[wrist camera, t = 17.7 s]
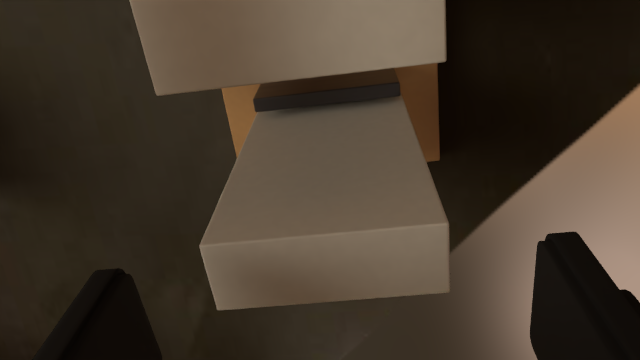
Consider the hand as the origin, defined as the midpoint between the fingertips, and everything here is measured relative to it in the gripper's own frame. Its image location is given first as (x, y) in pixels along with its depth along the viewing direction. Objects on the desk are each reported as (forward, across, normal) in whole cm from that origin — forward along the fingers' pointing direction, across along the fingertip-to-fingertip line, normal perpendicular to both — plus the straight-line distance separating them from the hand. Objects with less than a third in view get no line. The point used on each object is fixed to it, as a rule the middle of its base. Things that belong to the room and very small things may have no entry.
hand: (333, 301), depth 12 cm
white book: (+14, 0, 0) cm, 14 cm away
